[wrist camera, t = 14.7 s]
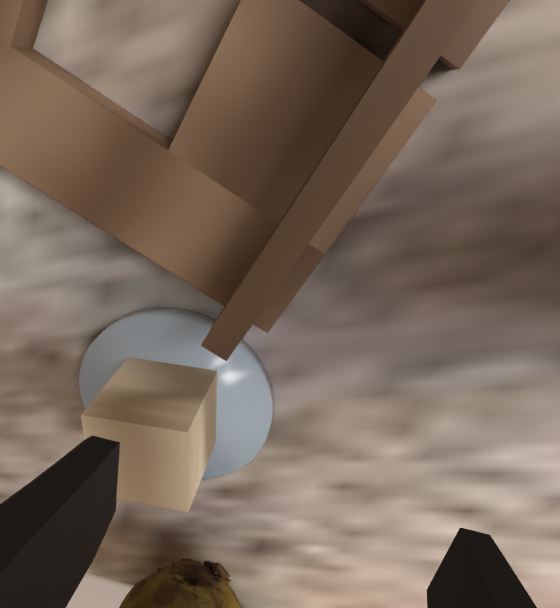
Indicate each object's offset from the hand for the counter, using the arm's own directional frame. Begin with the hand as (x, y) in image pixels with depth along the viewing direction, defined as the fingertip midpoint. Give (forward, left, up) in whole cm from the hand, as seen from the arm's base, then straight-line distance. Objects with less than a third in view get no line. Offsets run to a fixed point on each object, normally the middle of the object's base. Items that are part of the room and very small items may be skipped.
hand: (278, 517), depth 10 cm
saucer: (+3, +8, -10) cm, 13 cm away
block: (+3, +7, -10) cm, 12 cm away
